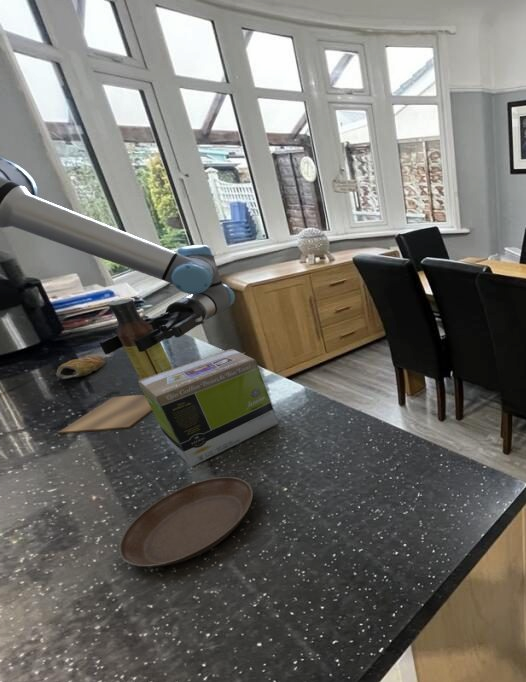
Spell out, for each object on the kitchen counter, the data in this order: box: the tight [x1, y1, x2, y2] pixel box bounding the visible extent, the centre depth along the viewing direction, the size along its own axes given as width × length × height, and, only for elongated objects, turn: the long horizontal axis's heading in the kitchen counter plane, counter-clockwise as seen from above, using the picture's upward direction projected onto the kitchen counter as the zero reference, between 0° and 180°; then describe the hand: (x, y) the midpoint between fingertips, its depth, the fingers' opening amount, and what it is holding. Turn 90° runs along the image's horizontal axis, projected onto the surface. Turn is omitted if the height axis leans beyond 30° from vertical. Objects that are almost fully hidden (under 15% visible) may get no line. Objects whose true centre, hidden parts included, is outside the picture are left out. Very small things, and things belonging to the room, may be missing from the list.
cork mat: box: [58, 394, 153, 434], centre depth 84 cm, size 13×13×1 cm
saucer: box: [118, 476, 254, 568], centre depth 55 cm, size 15×15×3 cm
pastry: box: [55, 355, 106, 380], centre depth 102 cm, size 9×7×4 cm
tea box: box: [137, 348, 279, 468], centre depth 72 cm, size 15×10×15 cm
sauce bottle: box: [107, 298, 174, 380], centre depth 90 cm, size 6×6×20 cm
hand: (121, 347), depth 85 cm, fingers closed on sauce bottle, 6 cm apart
